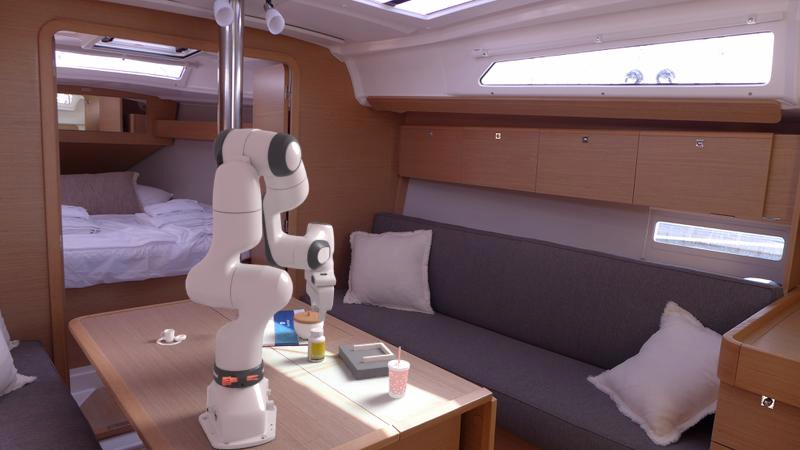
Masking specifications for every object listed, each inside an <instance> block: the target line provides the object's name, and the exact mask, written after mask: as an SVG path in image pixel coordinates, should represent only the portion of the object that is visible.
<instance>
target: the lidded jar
mask: <svg viewBox="0 0 800 450" xmlns="http://www.w3.org/2000/svg"><path fill="white" fill-rule="evenodd" d="M318 314H319V311H318V312H317V311H312V310H308V311H300V312H297V313H295V314H294V315H293V328H294V329H293V330H294V332H295V333H296V335H297V336H298V337H299V338H300V337H301V338H303V339H308V338H309V336H311V329H313V328H321V329H323V330H324V326H325V325H324V323H325V321H319V319H318ZM301 338H300V339H301ZM303 339H302V340H303Z"/></svg>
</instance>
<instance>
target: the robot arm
mask: <svg viewBox="0 0 800 450" xmlns="http://www.w3.org/2000/svg"><path fill="white" fill-rule="evenodd" d="M212 153H213V159H214V161H215V164H216V166H217V169H216V170H215V173H214V180H213V188H212V238H211V245H210V247H209V249H208V251H207V254H206V255H205V256H204V257H203V258H202V259H201V260H200V261H199V262H198V263H196V264H195V265H193V267H191V269H190V270H189V272H188V273H187V276H186V279H185V291H186V294H187V296H188V297H189V300H191V301H192V302H194V303H197V304H200V305H203V306H206V307H211V308H222V309H232V310H233V309H235V310H238V317H237V319H234V320H231V321H229V322H227V323H225V324H224V325H222V326H221V327H220V328H219V329H218V331H217V332H216V336H215V361H214V363H213V368H212V373H213V375H212V376H213V380H212V381H211V382H210V384H209V385H207V387H206V411H205V412H203V413H201V414H199V416H198V422H199V425H200V426H201V428H202V429H203V432H204V434H205V436H206V437H207V439H208V441H209V443H210V444H211V447H213V448H214V449H219V450H236V449H243V448H244V449H245V448H250V447H254V446H256V447H257V446H260V445H263V444H267V443H269V442H271V441H273V440H274V439H275V437H276V431H277V429H276V428H277V414H278V413H277V412H278V411H277V410H278V409H277V406H276V405H275V403H274V402H275V401H274V400H272V399H271V400H269V396H271V395H272V389H271V388H269V379H268V378H267V377H265V364H264V363H265V362H264V359H263V343H264V335H265V334H264V333H265V330H266V328H267V325H268V323H269V322H270V320H271V319H272V318H273V316H275V315H276V314H277V313H278V312H280V311H281V310H282V309H284V308H285V307H286V306H287V305H288V303H289V302H290V301H291V299H292V297H293V292H294V290H293V289H294V287H293V281H292V278H291V276H290V274H289V273H288V272H287V271H286V270H285V269H282V268H290V269H297V270H304V279H305V280H306V283H305V284H306V285H305V288H306V289H305V291H306V294H307V295H308V296H309V298H310V305H311V308H310V309H311V312H317V311H318V313H319V314H318V319H319V321H324V322H325V321H326V315H327V311H332V308H333V306H334V305H333V304H334V294H335V293H334V292H335V288H334V286H335V285H336V283H337V279H336V276H335V273H334V272H335V271H334V263H335V262H334V258H333V257H334V256H333V255H334V252H335V236H334V235H335V234H334V229H333V226H332V225H331V224H330V223H326V222H318V221H310V222H309V223H308V224H307V226H306V227H307V228H306V232H305V235H303V236H302V235H301V236H300V235H299V236H298V235H293V234H292V235H290V234H288V233H285V232H284V231H283V229H282V222H281V221H282V219H281V213H284V212H289V211H292V210H294V209H296V208H298V207H299V206H301V204H303V203H304V201H305V200H306V199H307V198H308V195H309V192H310V185H309V184H310V183H309V179H308V176H307V175H308V174H307V171H306V168H305V165H304V162H303V159H302V158H303V150H302V146H301V144H300V142H299V141H298V139H297V138H296V137H295V136H293V135H291V134H289V133H286V132H275V131H271V130H270V131H269V130H264V129H263V130H262V129H260V128H238V127H232V128H226V129H224V130H221V131H220V132H218V135H217V136H216V137H215V139H214V141H213V145H212ZM261 177H263V179H264V182H265V187H266V188H265V189H266V190H265V191H264V192H263V193H261V185H260V178H261ZM262 238H263V239H264V240H263V241H264V242H263V255H264V258H265V261H266V262H267V263H268V264H269V265H265V264H264V265H263V264H262V265H261V264H249V263H242V262H241V258H240V257H241V254H243V253H245V252H248V251H250V250H251V249H253V248H255V247H256V246H257V245H259V244H260V243H261V240H262Z"/></svg>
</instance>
